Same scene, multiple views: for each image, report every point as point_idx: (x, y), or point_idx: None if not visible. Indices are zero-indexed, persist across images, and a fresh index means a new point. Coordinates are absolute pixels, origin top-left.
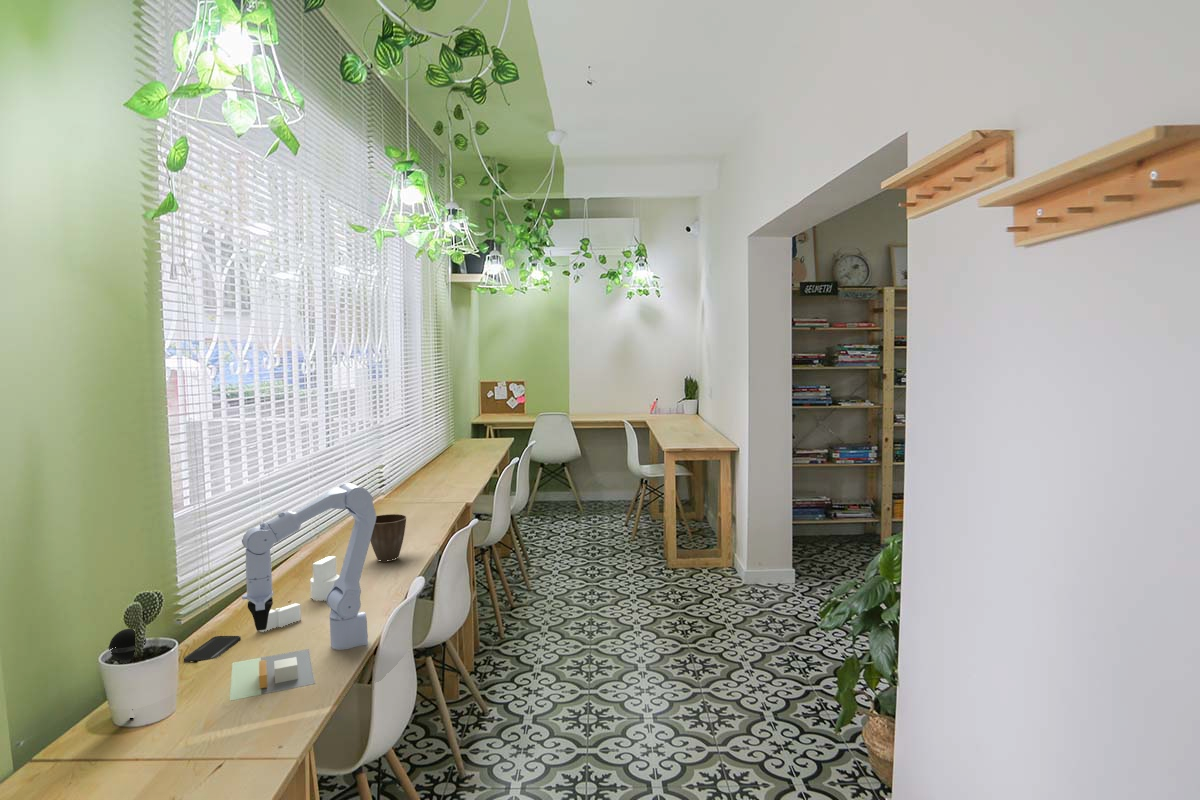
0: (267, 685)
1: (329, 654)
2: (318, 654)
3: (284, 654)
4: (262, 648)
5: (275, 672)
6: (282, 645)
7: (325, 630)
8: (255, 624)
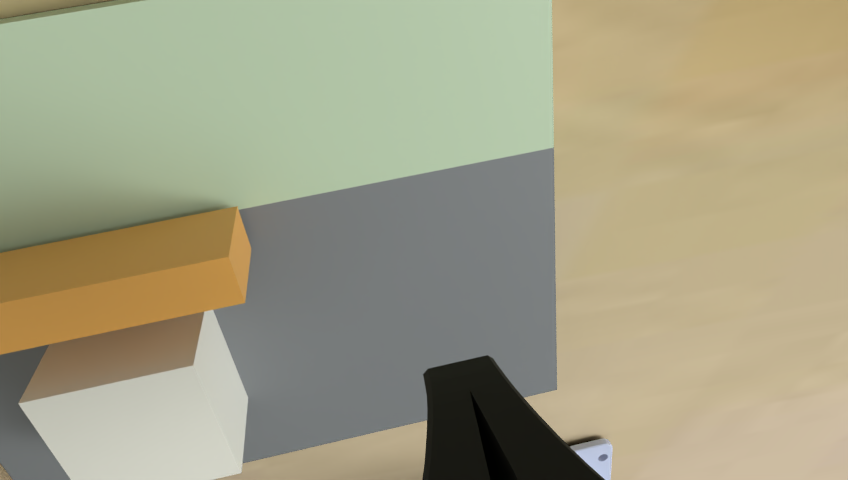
0: None
1: None
2: None
3: (535, 285)
4: (773, 102)
5: (31, 386)
6: (743, 219)
7: (811, 386)
8: (429, 432)
